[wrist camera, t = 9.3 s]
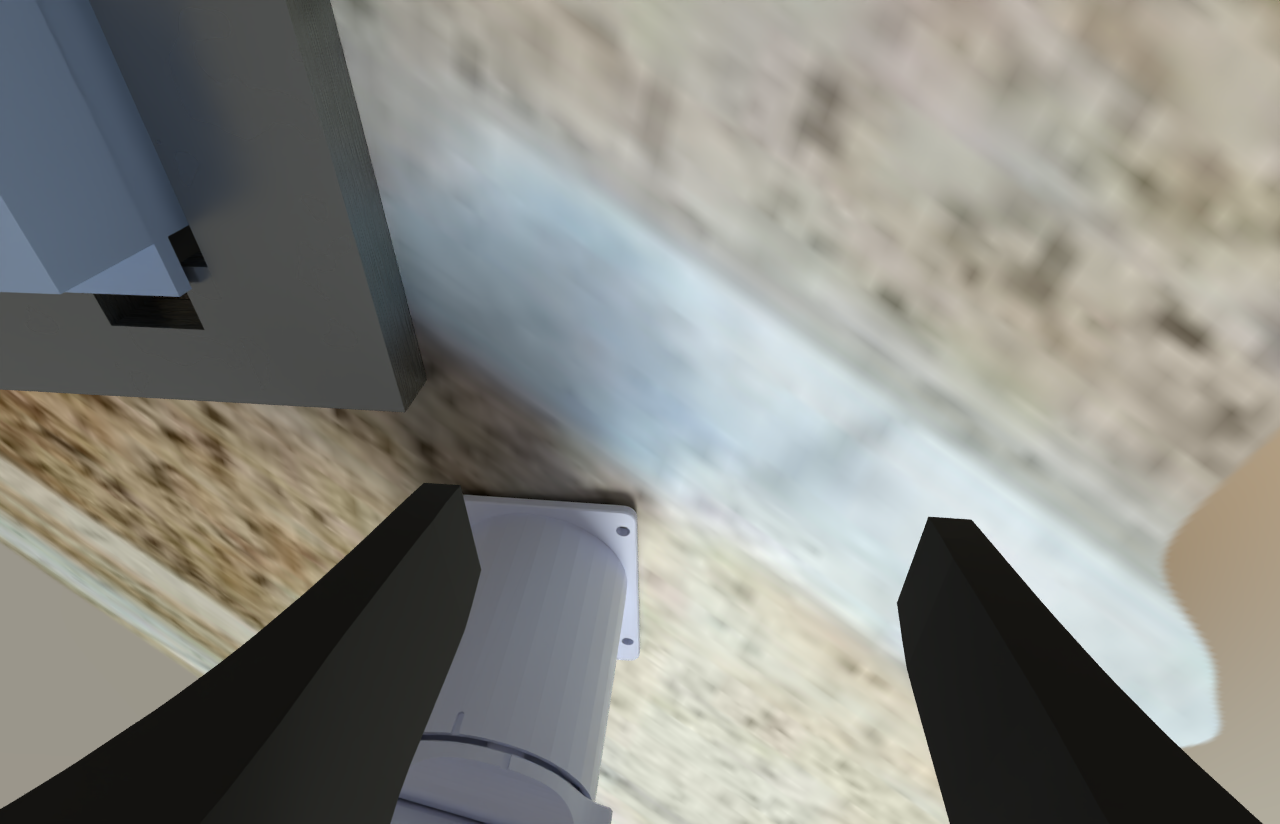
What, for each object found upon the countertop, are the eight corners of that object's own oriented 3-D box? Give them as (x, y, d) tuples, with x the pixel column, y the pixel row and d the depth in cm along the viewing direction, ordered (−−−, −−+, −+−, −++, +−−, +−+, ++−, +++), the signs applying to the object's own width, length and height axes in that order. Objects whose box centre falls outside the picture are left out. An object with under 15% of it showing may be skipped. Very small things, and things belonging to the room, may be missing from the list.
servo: (239, 268, 20) (75, 381, 15) (125, 264, 20) (-73, 373, 15) (87, -100, 14) (-249, -118, 9) (-65, -96, 15) (-466, -112, 10)
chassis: (426, 379, 21) (404, 412, 20) (45, 360, 23) (0, 389, 21) (241, -345, 12) (173, -383, 10) (-401, -306, 13) (-539, -335, 12)
